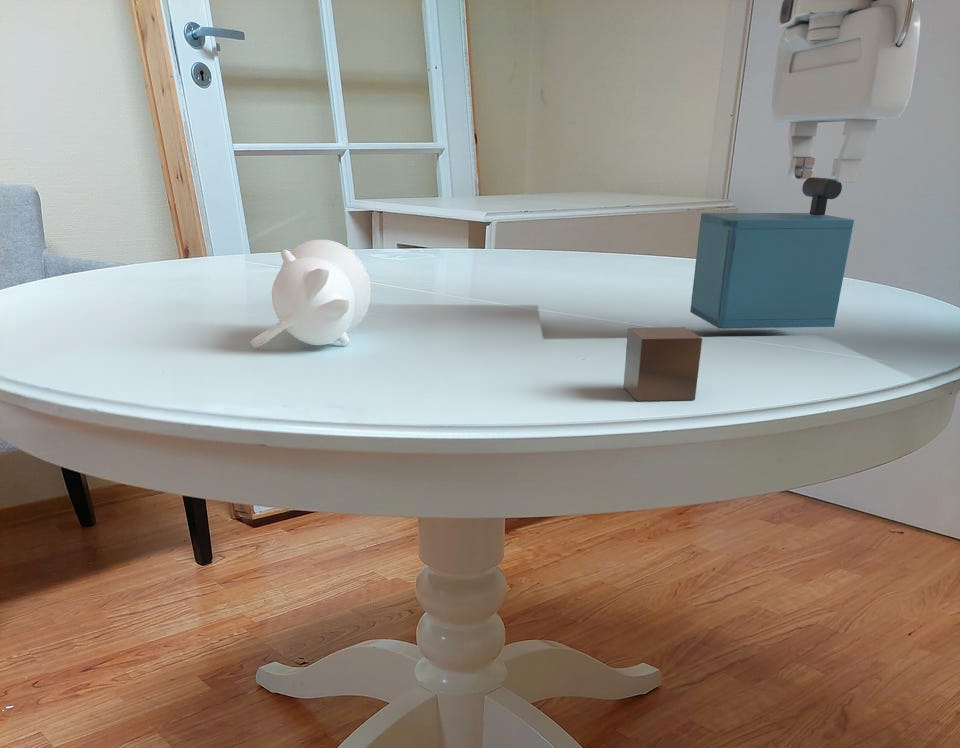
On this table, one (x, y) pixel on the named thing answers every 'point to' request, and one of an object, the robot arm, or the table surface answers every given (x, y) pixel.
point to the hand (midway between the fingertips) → (820, 180)
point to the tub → (772, 265)
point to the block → (662, 363)
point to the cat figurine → (319, 294)
